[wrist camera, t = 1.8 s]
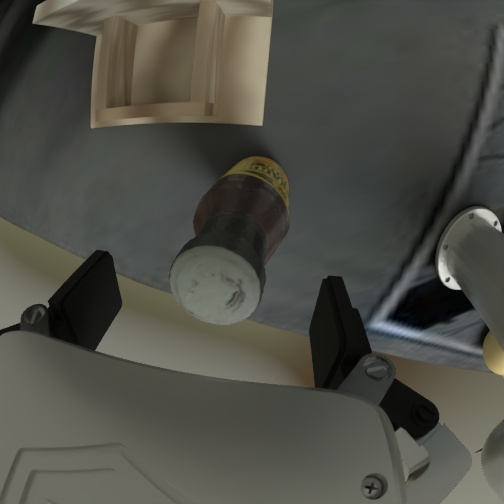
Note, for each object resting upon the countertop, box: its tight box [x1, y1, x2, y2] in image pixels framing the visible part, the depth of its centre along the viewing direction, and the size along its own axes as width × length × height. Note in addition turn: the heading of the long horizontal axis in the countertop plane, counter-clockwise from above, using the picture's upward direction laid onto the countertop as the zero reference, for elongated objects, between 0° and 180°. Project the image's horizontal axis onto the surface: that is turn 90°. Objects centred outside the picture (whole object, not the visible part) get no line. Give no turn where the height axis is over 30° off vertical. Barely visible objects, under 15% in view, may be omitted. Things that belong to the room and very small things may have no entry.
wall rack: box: [33, 0, 273, 128], centre depth 18 cm, size 20×14×12 cm
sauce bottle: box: [169, 156, 290, 325], centre depth 20 cm, size 6×6×20 cm
